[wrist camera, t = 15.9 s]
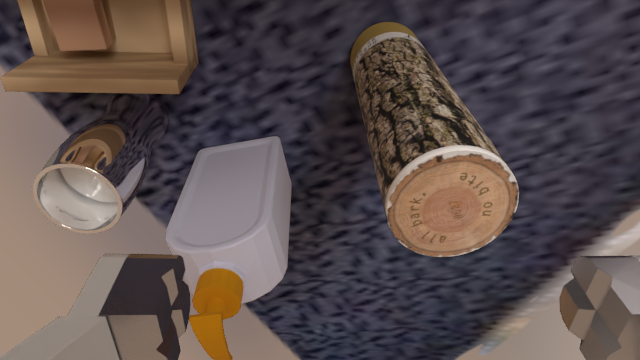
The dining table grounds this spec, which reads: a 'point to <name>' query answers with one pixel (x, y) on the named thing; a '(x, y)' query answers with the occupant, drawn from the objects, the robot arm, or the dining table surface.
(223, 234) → the soap bottle
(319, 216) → the dining table surface
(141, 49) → the tray
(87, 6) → the offcut
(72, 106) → the dining table surface
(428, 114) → the brown bark cylinder
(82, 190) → the beer glass
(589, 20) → the dining table surface
